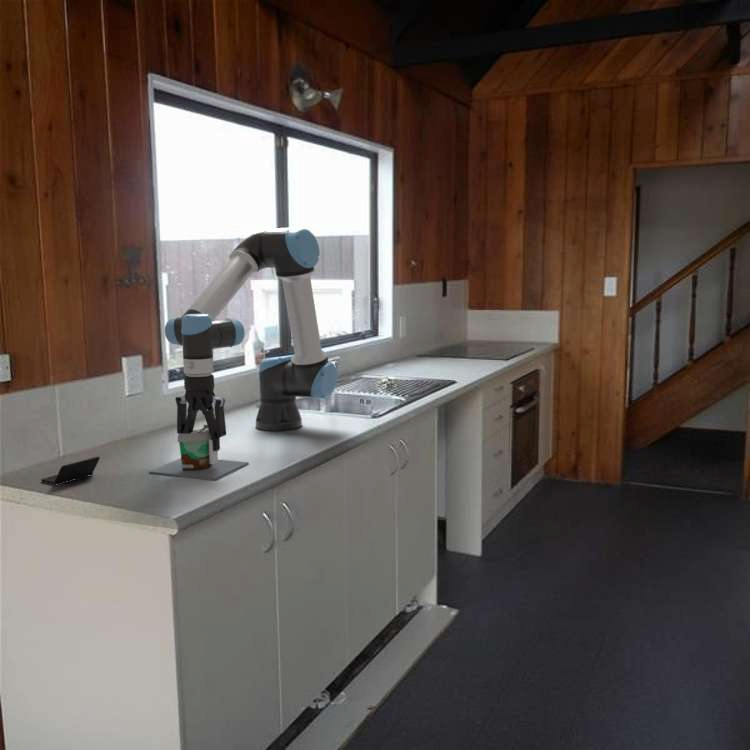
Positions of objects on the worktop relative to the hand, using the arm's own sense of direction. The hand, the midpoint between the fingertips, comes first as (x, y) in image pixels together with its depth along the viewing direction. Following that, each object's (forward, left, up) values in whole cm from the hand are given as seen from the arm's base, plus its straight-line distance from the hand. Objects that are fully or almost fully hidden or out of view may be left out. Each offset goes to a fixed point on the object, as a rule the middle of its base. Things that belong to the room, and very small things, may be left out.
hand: (202, 461), depth 194 cm
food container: (0, 0, -2) cm, 2 cm away
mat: (0, -1, -2) cm, 2 cm away
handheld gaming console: (+19, -26, -2) cm, 32 cm away
